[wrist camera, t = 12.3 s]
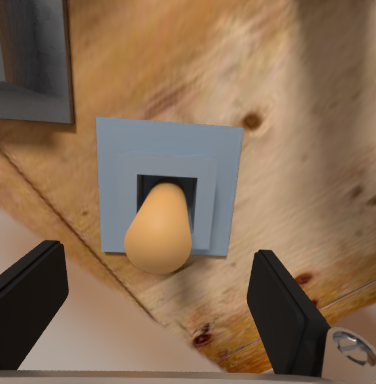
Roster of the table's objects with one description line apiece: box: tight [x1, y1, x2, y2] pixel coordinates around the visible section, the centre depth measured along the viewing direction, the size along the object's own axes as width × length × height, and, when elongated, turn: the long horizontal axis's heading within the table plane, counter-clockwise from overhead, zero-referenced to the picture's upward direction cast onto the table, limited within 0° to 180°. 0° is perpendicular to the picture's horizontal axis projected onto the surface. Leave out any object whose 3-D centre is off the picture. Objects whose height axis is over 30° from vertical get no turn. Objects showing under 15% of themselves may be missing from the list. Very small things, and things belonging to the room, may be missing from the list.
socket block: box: [96, 116, 243, 256], centre depth 25 cm, size 18×18×6 cm
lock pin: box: [124, 177, 192, 274], centre depth 20 cm, size 4×4×14 cm
